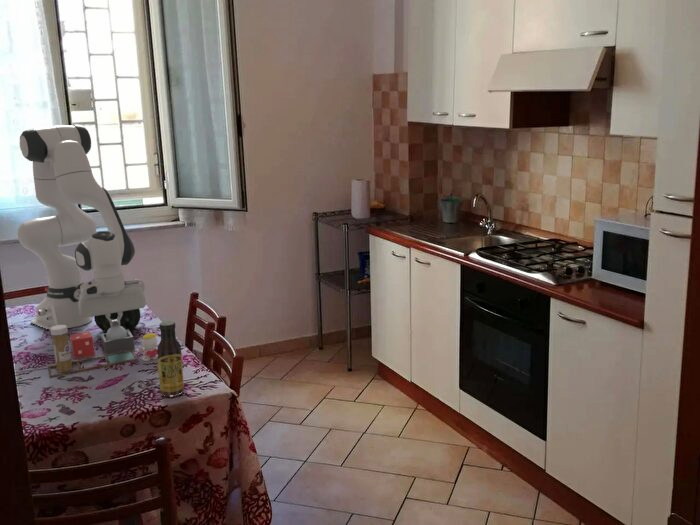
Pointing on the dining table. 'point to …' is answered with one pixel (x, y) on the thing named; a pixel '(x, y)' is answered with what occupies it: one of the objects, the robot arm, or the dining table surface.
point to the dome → (116, 333)
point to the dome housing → (118, 343)
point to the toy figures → (149, 347)
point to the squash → (126, 321)
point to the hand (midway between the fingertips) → (115, 325)
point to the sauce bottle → (169, 361)
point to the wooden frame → (110, 359)
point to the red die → (82, 344)
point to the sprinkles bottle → (61, 348)
